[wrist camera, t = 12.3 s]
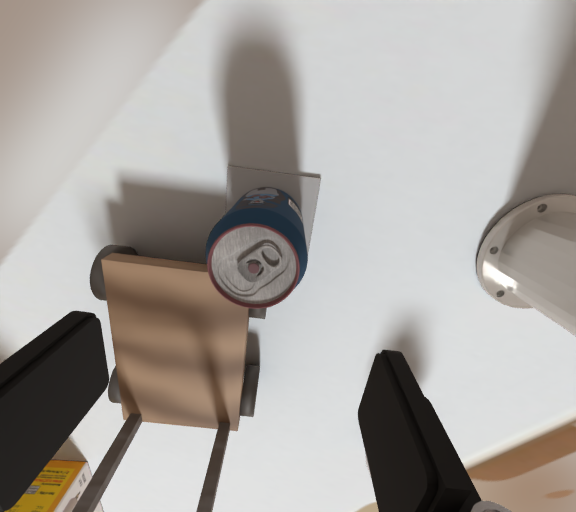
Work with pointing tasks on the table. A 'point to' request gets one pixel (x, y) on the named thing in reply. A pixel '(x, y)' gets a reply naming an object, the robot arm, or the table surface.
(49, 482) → the packaging box
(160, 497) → the table surface
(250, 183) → the mat
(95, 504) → the trolley
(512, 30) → the table surface
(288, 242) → the soda can
